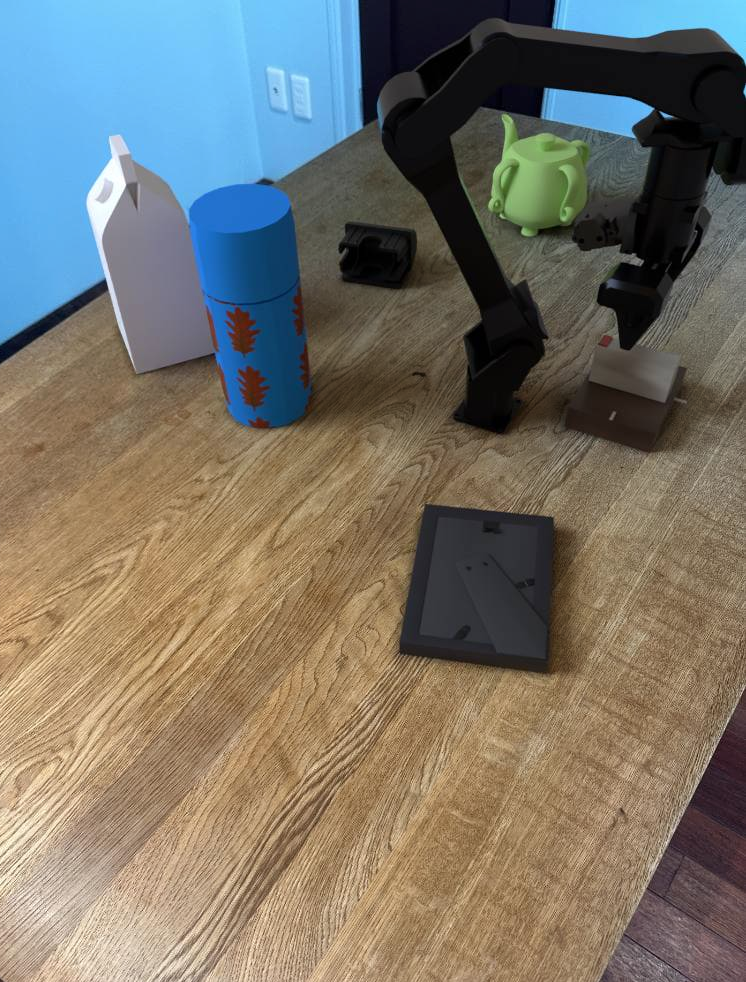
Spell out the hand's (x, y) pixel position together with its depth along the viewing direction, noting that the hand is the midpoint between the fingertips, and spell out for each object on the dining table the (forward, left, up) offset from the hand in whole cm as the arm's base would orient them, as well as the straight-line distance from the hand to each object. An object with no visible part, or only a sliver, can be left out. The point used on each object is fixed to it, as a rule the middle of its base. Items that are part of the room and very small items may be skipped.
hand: (638, 326), depth 89 cm
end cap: (+14, +40, -11) cm, 44 cm away
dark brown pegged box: (0, -1, -11) cm, 11 cm away
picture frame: (-33, +3, -11) cm, 35 cm away
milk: (-13, +58, -11) cm, 61 cm away
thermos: (-18, +38, -11) cm, 44 cm away
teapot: (+39, +26, -11) cm, 48 cm away
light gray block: (0, -1, -8) cm, 8 cm away
